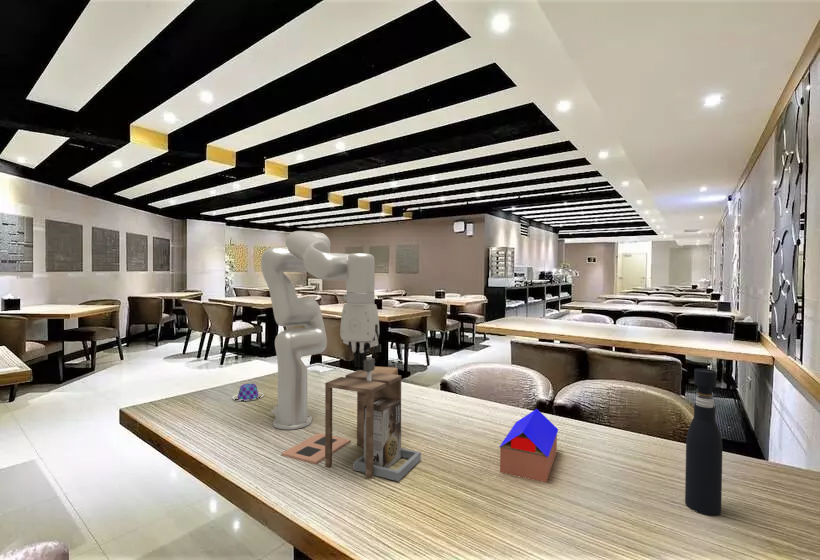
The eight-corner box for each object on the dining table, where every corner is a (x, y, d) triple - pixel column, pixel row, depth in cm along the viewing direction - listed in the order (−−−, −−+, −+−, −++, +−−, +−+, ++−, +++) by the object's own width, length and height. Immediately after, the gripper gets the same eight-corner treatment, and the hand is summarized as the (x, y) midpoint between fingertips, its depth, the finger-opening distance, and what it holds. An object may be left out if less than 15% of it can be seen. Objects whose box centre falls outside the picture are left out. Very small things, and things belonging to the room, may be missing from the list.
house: (558, 452, 116) (558, 411, 116) (547, 484, 98) (548, 436, 98) (515, 444, 121) (516, 405, 121) (498, 473, 104) (498, 428, 103)
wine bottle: (678, 499, 92) (680, 367, 91) (704, 498, 92) (707, 366, 92) (700, 516, 85) (703, 374, 85) (729, 515, 86) (731, 373, 85)
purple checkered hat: (253, 403, 158) (254, 390, 158) (225, 401, 160) (225, 388, 160) (269, 394, 170) (269, 381, 170) (243, 392, 172) (243, 380, 172)
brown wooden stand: (325, 466, 106) (325, 382, 106) (358, 443, 120) (359, 369, 120) (371, 478, 100) (371, 389, 100) (400, 453, 114) (401, 375, 114)
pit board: (281, 455, 113) (281, 452, 113) (318, 434, 127) (318, 432, 127) (315, 464, 107) (315, 461, 107) (350, 442, 122) (350, 439, 122)
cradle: (352, 469, 104) (353, 363, 104) (378, 449, 116) (378, 354, 115) (398, 481, 98) (399, 369, 98) (420, 459, 110) (421, 359, 110)
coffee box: (381, 453, 114) (382, 396, 114) (401, 458, 111) (402, 399, 111) (362, 466, 106) (363, 405, 106) (382, 472, 103) (383, 409, 103)
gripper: (329, 298, 110) (329, 366, 110) (377, 300, 103) (376, 372, 104) (345, 297, 117) (345, 361, 117) (391, 299, 110) (391, 366, 110)
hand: (360, 366), depth 110 cm, fingers closed
